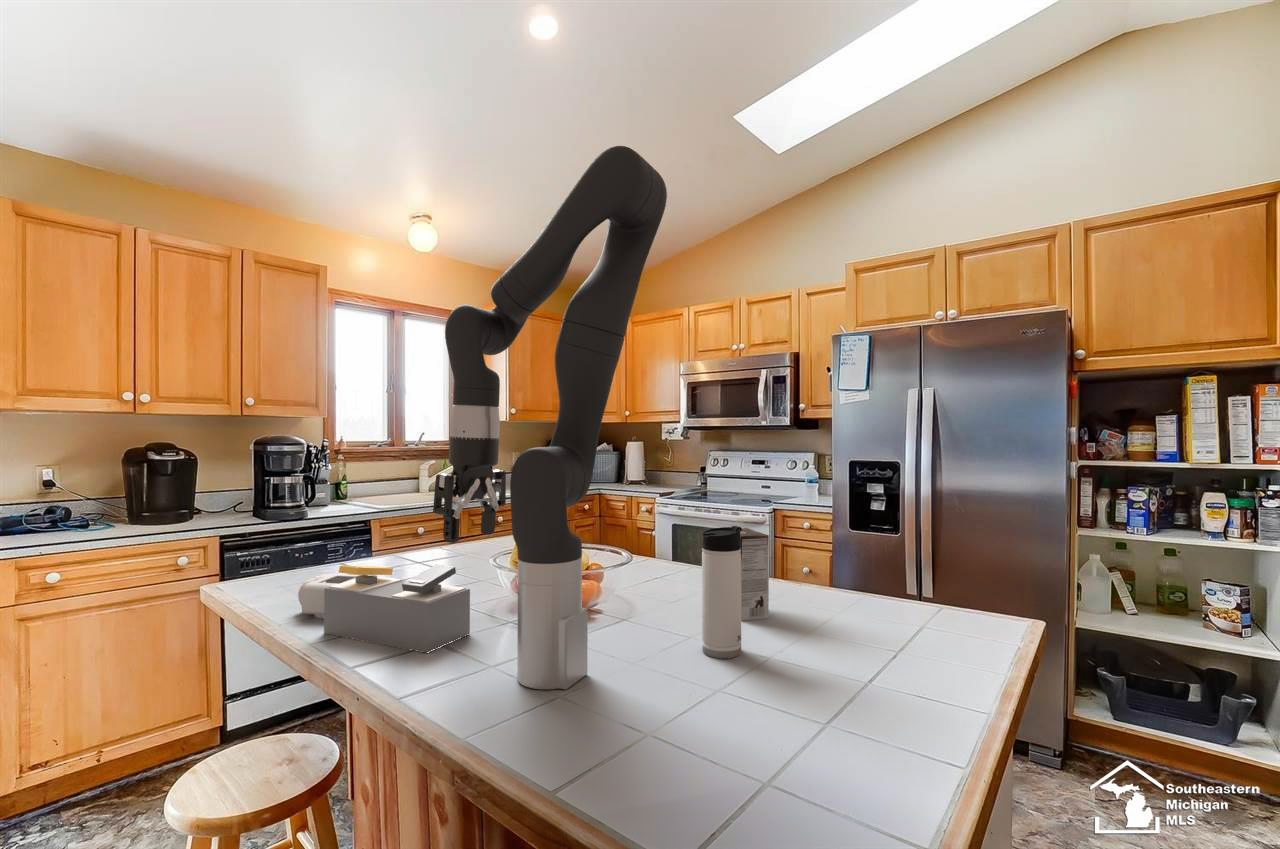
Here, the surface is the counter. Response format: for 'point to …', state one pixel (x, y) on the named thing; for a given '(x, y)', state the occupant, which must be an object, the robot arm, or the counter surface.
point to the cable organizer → (319, 592)
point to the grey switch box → (396, 613)
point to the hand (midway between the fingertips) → (470, 537)
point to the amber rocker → (365, 570)
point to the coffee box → (754, 574)
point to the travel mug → (721, 592)
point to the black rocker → (428, 578)
